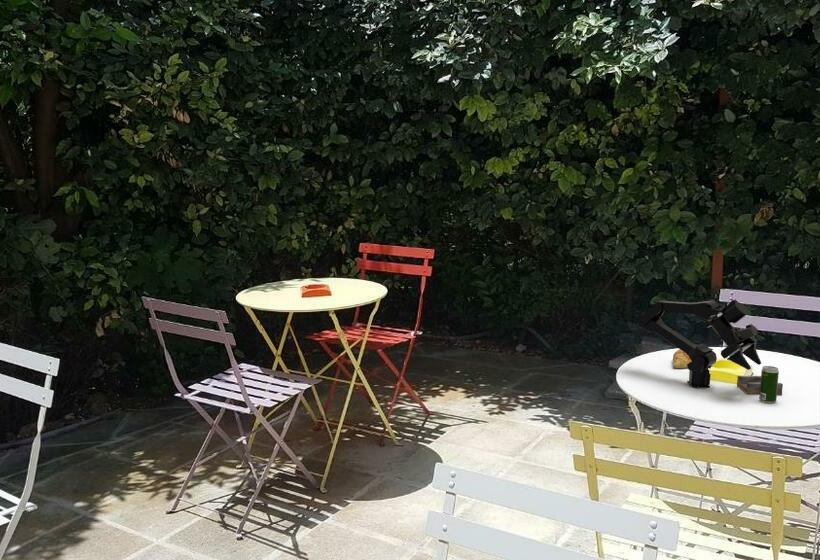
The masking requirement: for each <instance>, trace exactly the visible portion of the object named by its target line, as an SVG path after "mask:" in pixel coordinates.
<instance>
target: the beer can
mask: <svg viewBox="0 0 820 560" xmlns="http://www.w3.org/2000/svg"><path fill="white" fill-rule="evenodd" d="M779 374H780V371H779V368H778V367H776V366H771V365H763V366H762V369H761V373H760V376H761V383H760V395H758V397H759V398H758V399H759V401H760V402H762V403H764V404H775V403H776V402H777V398H778V395H777V387H778V383H779V377H780V376H779Z"/></svg>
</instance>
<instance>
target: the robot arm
mask: <svg viewBox="0 0 820 560" xmlns="http://www.w3.org/2000/svg"><path fill="white" fill-rule="evenodd" d="M665 312H666V313H677V314H679V313H681V314H690V315H693V316H695V317H698V318H701V319H707V320H705V324H704V325H705V326H704V328H705V329H707V328H710V327H712V329H713V330H714V331H715V333H716V334H717V335H718V336H719V339H718V340H719V341H720V342H721V341H723V343H725V344H726V347H725V348H723V349H722V350H721V351H720V356H721V357H722V358H723V359H724V360H725V359H726V360H727V361H730V362H732V363H734V364H736V365H738V366H740V367H742V368H744V369H746V370H747V371H749V370H751V369H752V368H751V366H750V364H749V362H748V361H747V359H746V358H745V357H747V358H748V359H750V360H751V361H752V362H753V363H755V364H756V365H758V366H760V365H762V361H761V359H760V357H759V354H758V351H757V349H756V348H757V344H758V342H757V341H758V339H757V338H756V337H755V336H758V332H757V331H758V328H757V327H756V326H755V325H753V324H752V323H749V324H747V325H745V328H743V329H739V327H734V326H733V325H732V324H737V323H738V322H740V321H741V320H742V319H743V318H745V317H746V316H747V315H748V314H749V309H748V308H747V307H746V306H745V305H744V304H743V303H741V302H740V301H738V300H737V299H731V301H730V302H729V303H728V304H727V305H725V306H724V305H721V304H718V303H717V301H715V300H705V301H704V300H703V301H698V302H689V301H688V302H686V301H671V300H664V299H663V300H657V301H656V302H654V304H652V306H651V307H650V308H648V309H647V310H645V311H644V313H641V314H639V315H638V316H637V318H636V322H637V324H636V325H637V326H638V327H639V328H640V329H642V330H645V331H647V332H650V333H654V334H656V335H658V336H660V337H661V338H662V339H664V340H665V341H666V342H668V343H670V344H671V345H673V346H674V347H676V348H677V349H678V350H682V351H683V352H685V353H686V354H687V355H688V356H689V358H690V360H691V362H690V363H688V364H687V367H688V368H687V370H688V371H689V372H688V373H689V374H688V380H687V384H688V385H689V386H690V387H692V388H704V389H705V388H711V386H710V384H711V373H710V369H711V368H712V367H713V365H714V364H716V363H717V359H718V358H717V353H716V352H714V351H713V350H714V348H711V347H709V345H707V344H705V343H701V344H698V345H697V344H695V343H694V342H692V341H690V340H689V339H687V337H684V336H683V335H681V334H680V333H679V332H677V331H676V330H673V328H671V327H669V326H668V325H666V324H665V323H664V321H663V319H662V318H661V317H662V316H663V315H664V313H665ZM717 315H720V316H717ZM708 318H711V319H708ZM731 323H732V324H731Z"/></svg>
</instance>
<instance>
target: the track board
mask: <svg viewBox="0 0 820 560" xmlns="http://www.w3.org/2000/svg"><path fill="white" fill-rule="evenodd" d="M760 383H761V375H737V380H736V387H737V388H739V389H740V390H742V391H743V392H744V393H745V394H746V395H751V396H753V395H756V396H759V395H760ZM783 385H784V384H783V383H781V382H778V387H777V396H782V395H783V388H784V387H783Z"/></svg>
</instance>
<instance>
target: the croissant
mask: <svg viewBox="0 0 820 560" xmlns="http://www.w3.org/2000/svg"><path fill="white" fill-rule="evenodd" d="M690 362H691V360H690V358H689V356H688V355H687V354H686V353H685V352H683V351H682V350H680V349H678V350H676V351H675V352H674V353H673V355H672V366H673V367H674V368H675V369H688V367H687V364H688V363H690Z"/></svg>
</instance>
